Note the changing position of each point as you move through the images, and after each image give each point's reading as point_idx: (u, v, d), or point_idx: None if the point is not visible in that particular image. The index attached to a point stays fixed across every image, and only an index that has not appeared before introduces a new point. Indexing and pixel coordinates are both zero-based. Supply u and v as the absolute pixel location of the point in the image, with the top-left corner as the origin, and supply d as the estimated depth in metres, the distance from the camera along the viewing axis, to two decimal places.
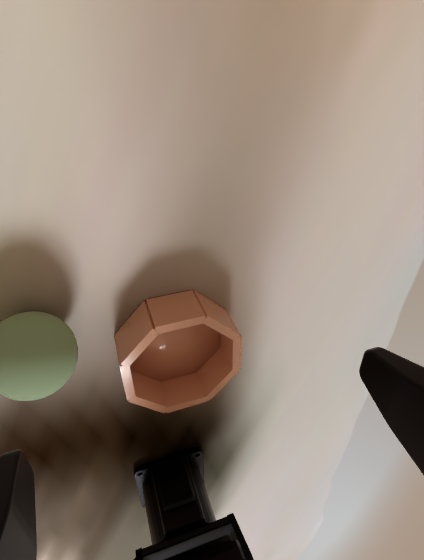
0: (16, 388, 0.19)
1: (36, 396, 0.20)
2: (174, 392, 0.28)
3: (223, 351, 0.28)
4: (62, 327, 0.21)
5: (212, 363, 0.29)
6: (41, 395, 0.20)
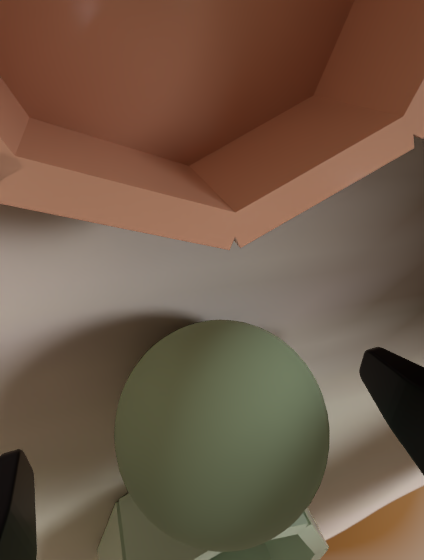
0: (270, 539, 0.07)
1: (302, 496, 0.07)
2: None
3: None
4: (124, 414, 0.08)
5: None
6: (303, 483, 0.07)
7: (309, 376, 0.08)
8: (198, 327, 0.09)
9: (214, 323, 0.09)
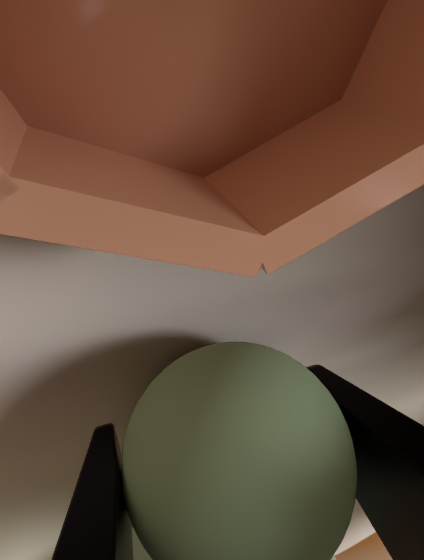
0: None
1: (331, 545, 0.06)
2: None
3: None
4: (133, 451, 0.07)
5: None
6: (333, 531, 0.06)
7: (334, 407, 0.07)
8: (212, 352, 0.08)
9: (229, 347, 0.08)
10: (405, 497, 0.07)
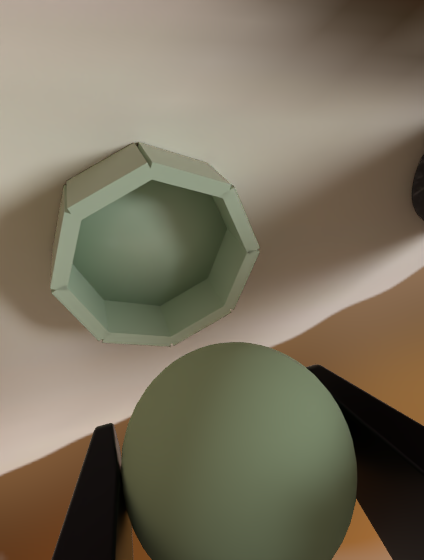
0: None
1: (331, 546, 0.06)
2: None
3: None
4: (133, 451, 0.07)
5: None
6: (333, 532, 0.06)
7: (335, 407, 0.07)
8: (212, 352, 0.08)
9: (229, 347, 0.08)
10: (405, 497, 0.07)
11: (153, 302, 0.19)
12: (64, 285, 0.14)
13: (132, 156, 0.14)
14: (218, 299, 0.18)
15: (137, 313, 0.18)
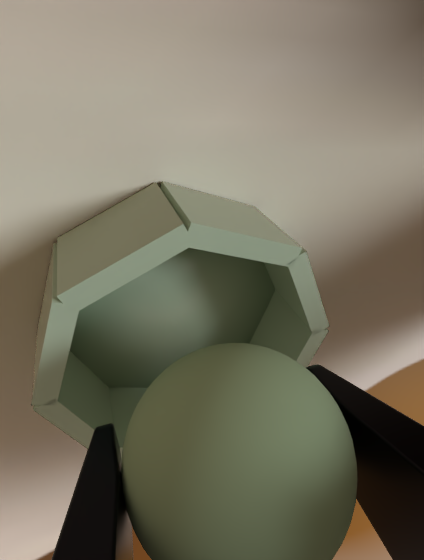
0: None
1: (331, 546, 0.06)
2: None
3: None
4: (133, 452, 0.07)
5: None
6: (333, 532, 0.06)
7: (335, 407, 0.07)
8: (212, 353, 0.08)
9: (229, 348, 0.08)
10: (405, 497, 0.07)
11: None
12: (53, 398, 0.10)
13: (156, 208, 0.09)
14: None
15: None
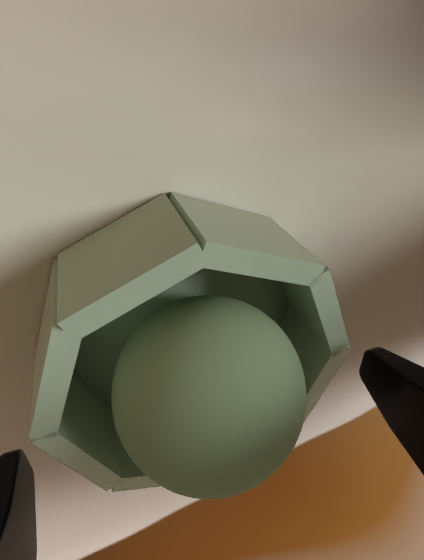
0: (251, 486, 0.08)
1: (279, 445, 0.08)
2: None
3: None
4: (120, 376, 0.09)
5: None
6: (280, 433, 0.08)
7: (287, 343, 0.09)
8: (187, 300, 0.09)
9: (202, 297, 0.10)
10: None
11: None
12: (52, 431, 0.09)
13: (167, 223, 0.09)
14: None
15: None
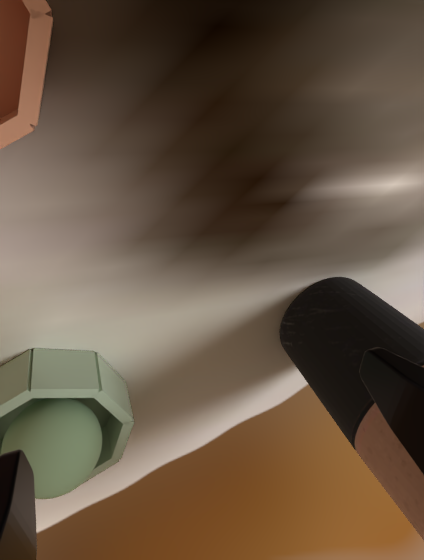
0: (61, 492, 0.18)
1: (70, 473, 0.18)
2: None
3: None
4: (3, 443, 0.19)
5: None
6: (70, 468, 0.18)
7: (84, 423, 0.19)
8: (39, 403, 0.20)
9: (47, 401, 0.20)
10: None
11: None
12: None
13: (22, 373, 0.19)
14: (109, 450, 0.23)
15: None
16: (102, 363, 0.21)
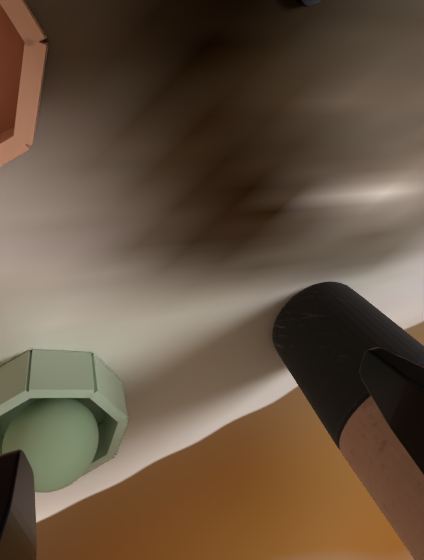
0: (59, 486, 0.20)
1: (68, 469, 0.19)
2: None
3: None
4: (3, 440, 0.20)
5: None
6: (68, 464, 0.19)
7: (81, 421, 0.20)
8: (38, 402, 0.21)
9: (46, 399, 0.21)
10: None
11: None
12: None
13: (21, 373, 0.20)
14: (104, 447, 0.24)
15: None
16: (98, 364, 0.22)
